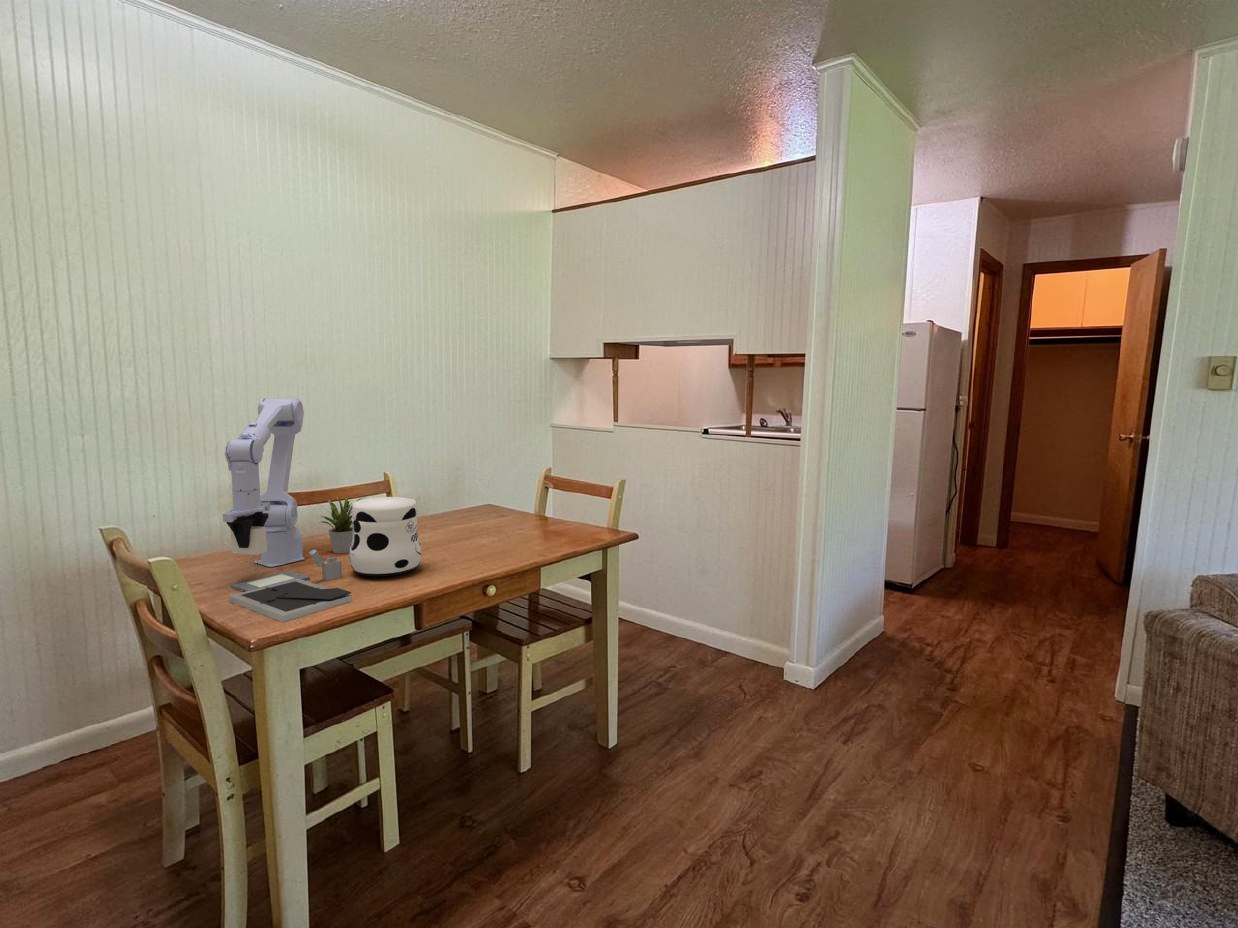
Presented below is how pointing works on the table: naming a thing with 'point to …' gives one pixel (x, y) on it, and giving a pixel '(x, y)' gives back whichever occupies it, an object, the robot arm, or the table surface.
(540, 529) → the table surface
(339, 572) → the lighter
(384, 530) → the milk container
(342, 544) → the house plant
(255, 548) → the beige rectangular block
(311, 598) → the picture frame
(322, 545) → the table surface
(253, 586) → the mat
